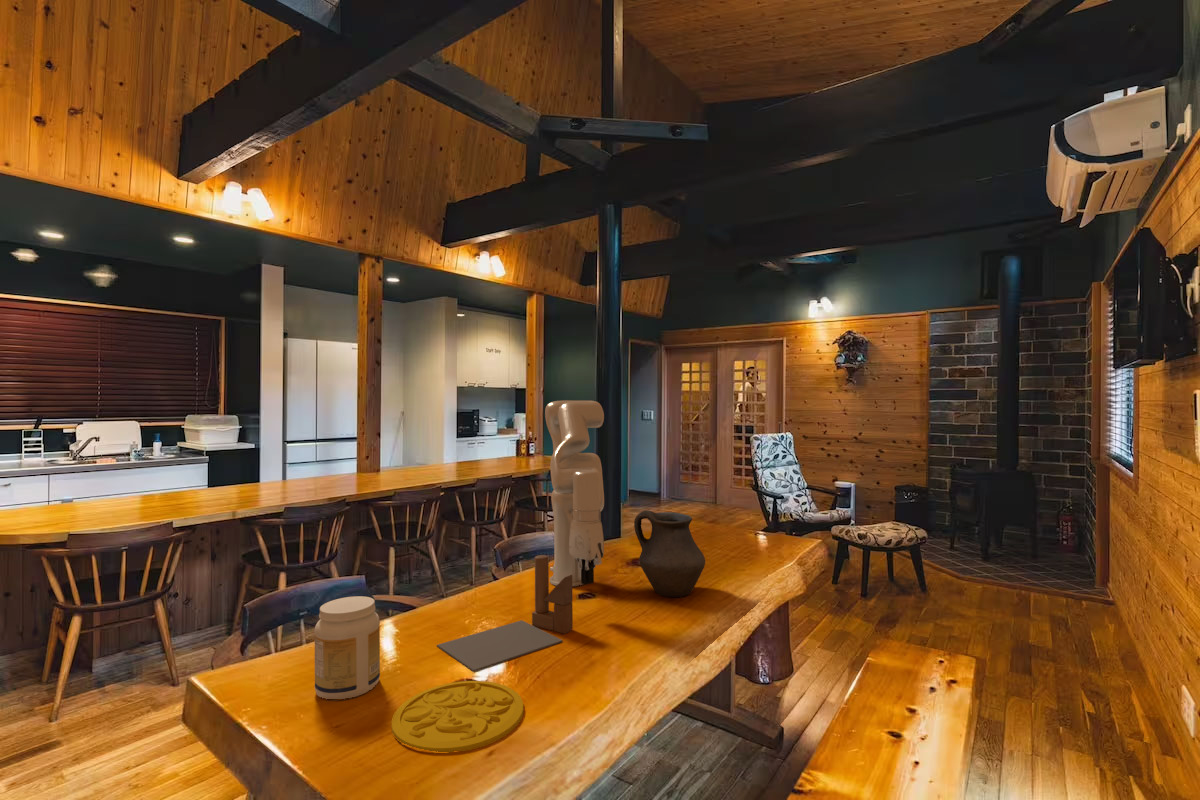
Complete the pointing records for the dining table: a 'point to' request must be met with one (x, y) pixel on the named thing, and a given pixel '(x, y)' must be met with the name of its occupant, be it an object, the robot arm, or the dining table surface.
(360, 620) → the supplement tub
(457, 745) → the decorative medallion
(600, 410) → the robot arm
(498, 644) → the mat
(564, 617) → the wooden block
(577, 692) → the dining table surface
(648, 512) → the pitcher
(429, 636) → the dining table surface
